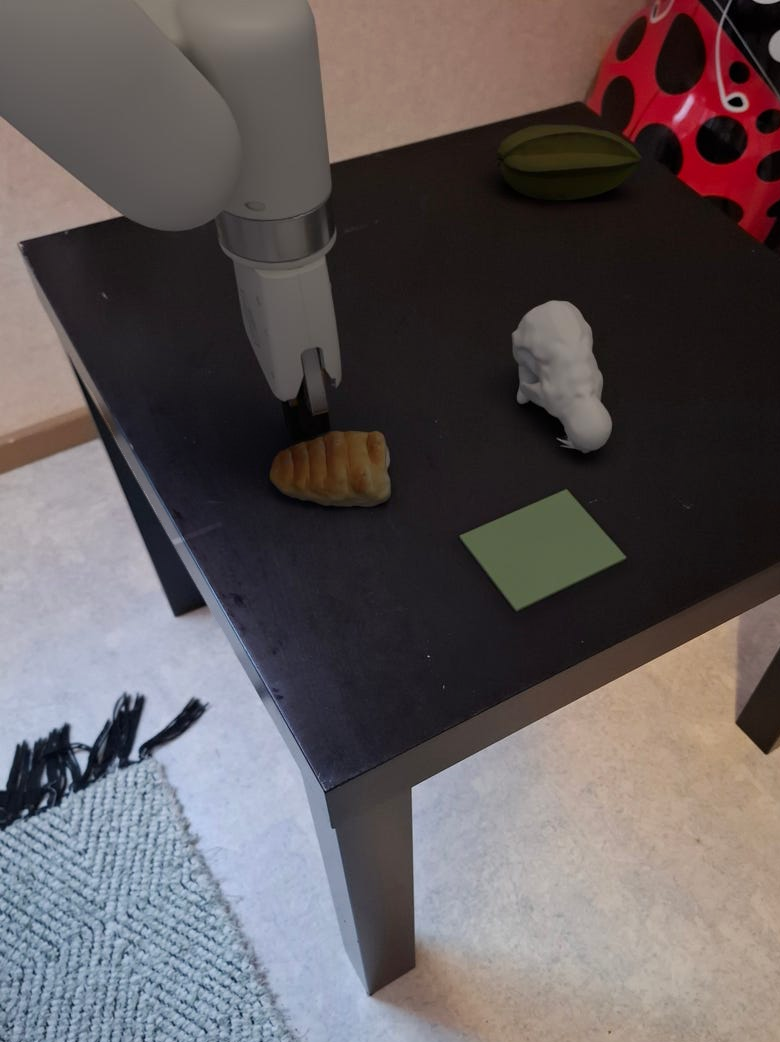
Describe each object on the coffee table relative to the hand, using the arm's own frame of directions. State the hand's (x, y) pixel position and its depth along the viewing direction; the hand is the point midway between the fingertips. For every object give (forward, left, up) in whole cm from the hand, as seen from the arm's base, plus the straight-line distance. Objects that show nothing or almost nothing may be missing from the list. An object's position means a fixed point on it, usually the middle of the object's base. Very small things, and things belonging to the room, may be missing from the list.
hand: (308, 429), depth 73 cm
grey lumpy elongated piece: (+13, +17, -2) cm, 21 cm away
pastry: (+5, -1, -2) cm, 5 cm away
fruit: (-9, +44, -2) cm, 45 cm away
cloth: (+21, +5, -2) cm, 21 cm away
